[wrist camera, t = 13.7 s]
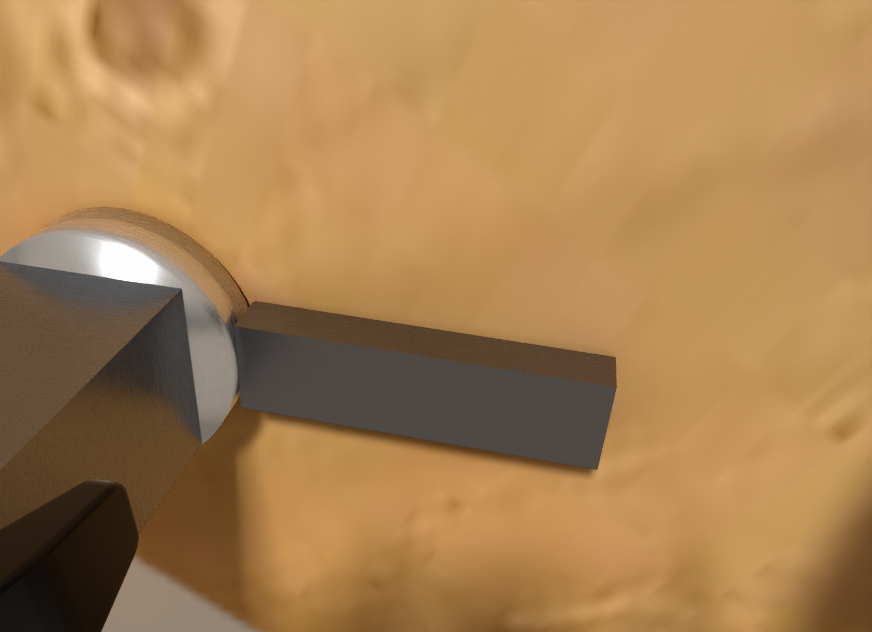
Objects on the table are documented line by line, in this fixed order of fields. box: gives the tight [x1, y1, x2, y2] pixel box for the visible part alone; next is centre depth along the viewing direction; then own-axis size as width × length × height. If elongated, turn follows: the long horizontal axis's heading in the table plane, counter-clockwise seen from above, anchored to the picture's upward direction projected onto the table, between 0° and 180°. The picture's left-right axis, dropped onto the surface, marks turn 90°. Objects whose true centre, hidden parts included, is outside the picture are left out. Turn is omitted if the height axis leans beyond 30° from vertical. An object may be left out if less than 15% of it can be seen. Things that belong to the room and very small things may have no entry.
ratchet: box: [0, 207, 617, 470], centre depth 22 cm, size 19×8×4 cm, turn 86°
